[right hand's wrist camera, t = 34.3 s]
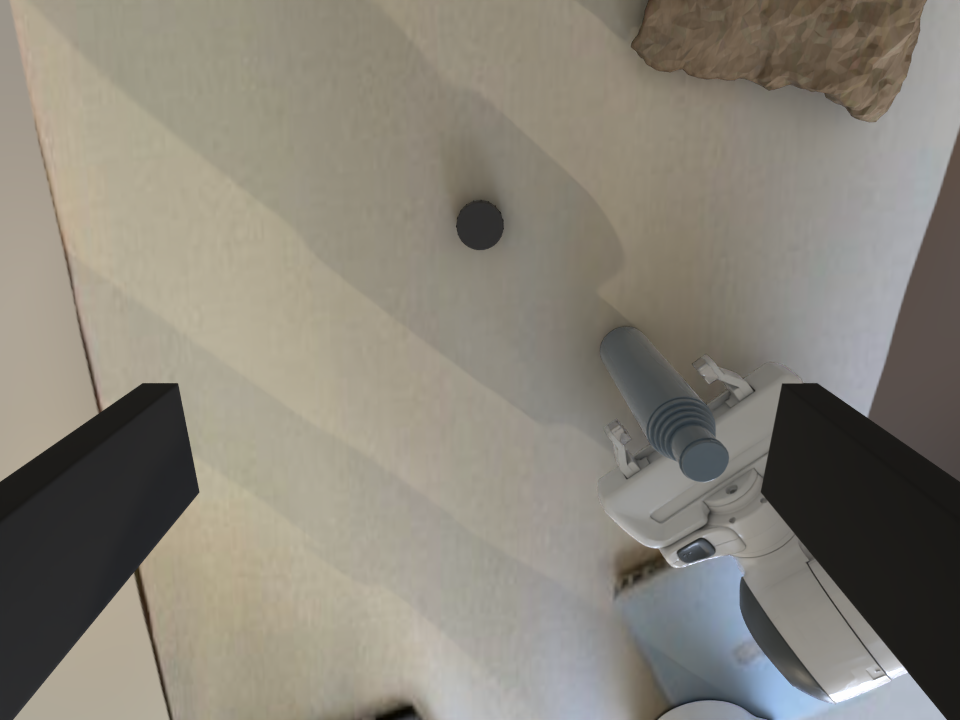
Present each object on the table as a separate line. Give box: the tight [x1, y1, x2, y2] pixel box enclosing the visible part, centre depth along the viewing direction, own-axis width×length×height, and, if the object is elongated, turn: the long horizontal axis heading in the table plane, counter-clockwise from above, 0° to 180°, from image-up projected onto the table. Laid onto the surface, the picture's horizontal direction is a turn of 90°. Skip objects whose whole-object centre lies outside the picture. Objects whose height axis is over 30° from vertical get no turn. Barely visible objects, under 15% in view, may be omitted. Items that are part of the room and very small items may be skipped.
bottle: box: [600, 327, 729, 482], centre depth 45 cm, size 5×5×21 cm
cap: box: [456, 200, 504, 250], centre depth 50 cm, size 4×4×2 cm
